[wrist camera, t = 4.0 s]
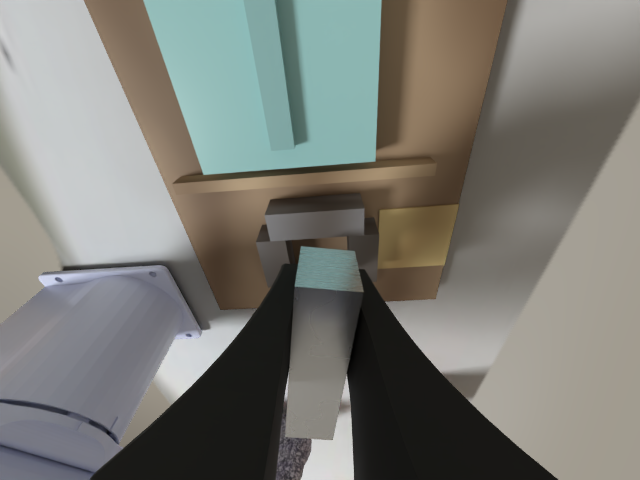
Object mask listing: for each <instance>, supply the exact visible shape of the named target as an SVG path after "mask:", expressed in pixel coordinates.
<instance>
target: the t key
mask: <svg viewBox="0 0 640 480" xmlns="http://www.w3.org/2000/svg"><path fill="white" fill-rule="evenodd" d="M363 294H364V291H363V286H362V282H361V277H360V273H359V268H358V263H357V259H356V254H355V251H349V250H337V249H326V248H315V247H303V246H301V249H300V256H299V262H298V268H297V274H296V281H295V288H294V303H293V319H292V335H291V351H290V367H289V383H288V399H287V415H286V431H285V437H291V438H307V439H322V440H333V436H334V431H335V427H336V422H337V417H338V412H339V408H340V403H341V398H342V393H343V389H344V384H345V379H346V374H347V370H348V365H349V360H350V356H351V351H352V346H353V341H354V337H355V332H356V327H357V322H358V318H359V313H360V308H361V304H362V299H363Z"/></svg>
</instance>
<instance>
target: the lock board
mask: <svg viewBox="0 0 640 480" xmlns="http://www.w3.org/2000/svg"><path fill="white" fill-rule="evenodd" d="M507 1H508V0H382V2H381V28H380V54H379V80H378V106H377V133H376V159H375V162H362V163H350V164H337V165H324V166H311V167H298V168H286V169H273V170H260V171H247V172H235V173H222V174H209V175H203V172H202V169H201V166H200V163H199V160H198V157H197V154H196V151H195V149H194V146H193V143H192V140H191V137H190V134H189V131H188V128H187V125H186V123H185V120H184V117H183V114H182V111H181V108H180V105H179V102H178V99H177V97H176V94H175V91H174V88H173V85H172V82H171V79H170V76H169V73H168V71H167V68H166V65H165V62H164V59H163V56H162V53H161V50H160V47H159V45H158V42H157V39H156V36H155V33H154V30H153V27H152V24H151V21H150V19H149V16H148V13H147V10H146V7H145V4H144V1H143V0H84V2H85V4H86V6H87V8H88V11H89V13H90V15H91V18H92V20H93V22H94V24H95V27H96V29H97V31H98V33H99V36H100V38H101V40H102V42H103V45H104V47H105V49H106V51H107V54H108V56H109V58H110V61H111V63H112V65H113V67H114V70H115V72H116V74H117V76H118V79H119V81H120V83H121V85H122V88H123V90H124V92H125V95H126V97H127V99H128V101H129V104H130V106H131V108H132V110H133V113H134V115H135V117H136V119H137V122H138V124H139V126H140V128H141V131H142V133H143V135H144V138H145V140H146V142H147V144H148V147H149V149H150V151H151V153H152V156H153V158H154V160H155V162H156V165H157V167H158V169H159V172H160V174H161V176H162V178H163V181H164V183H165V185H166V187H167V190H168V192H169V194H170V196H171V199H172V201H173V203H174V205H175V208H176V210H177V212H178V215H179V217H180V219H181V221H182V224H183V226H184V228H185V230H186V233H187V235H188V237H189V239H190V242H191V244H192V246H193V249H194V251H195V253H196V255H197V258H198V260H199V262H200V264H201V267H202V269H203V271H204V273H205V276H206V278H207V280H208V282H209V285H210V287H211V289H212V292H213V294H214V296H215V298H216V301H217V303H218V305H219V307H220V310H228V309H248V308H258V307H259V306H260V304H261V303H262V301H263V299H264V298H265V296H266V295H267V293H268V292H269V290H270V288H271V286H272V285H273V283H274V281H275V279H276V277H277V275H278V273H279V271H280V269H281V266H282V265H283V264H285V263H286V264H298V262H299V256H300V249H301V246H303V247H315V248H326V249H337V250H349V251H355V254H356V259H357V263H358V268H359V269H365V271H366V272H367V273H368V275H369V277H370V279H371V280H372V282H373V284H374V285H375V287H376V289H377V290H378V292H379V293H380V295H381V297H382V298H383V300H384V301H405V300H425V299H436V295H437V291H438V287H439V282H440V278H441V274H442V270H443V266H444V265H445V261H446V257H447V253H448V249H449V245H450V241H451V236H452V232H453V228H454V224H455V220H456V216H457V212H458V208H459V200H460V195H461V191H462V187H463V183H464V179H465V175H466V171H467V166H468V162H469V158H470V154H471V150H472V146H473V142H474V137H475V133H476V129H477V125H478V121H479V117H480V113H481V108H482V104H483V100H484V96H485V92H486V88H487V83H488V79H489V75H490V71H491V67H492V63H493V59H494V54H495V50H496V46H497V42H498V38H499V34H500V30H501V25H502V21H503V17H504V13H505V9H506V5H507Z"/></svg>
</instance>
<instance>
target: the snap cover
mask: <svg viewBox="0 0 640 480" xmlns="http://www.w3.org/2000/svg"><path fill="white" fill-rule="evenodd" d="M143 1H144V4H145V7H146V10H147V13H148V16H149V19H150V21H151V24H152V27H153V30H154V33H155V36H156V39H157V42H158V45H159V47H160V50H161V53H162V56H163V59H164V62H165V65H166V68H167V71H168V73H169V76H170V79H171V82H172V85H173V88H174V91H175V94H176V97H177V99H178V102H179V105H180V108H181V111H182V114H183V117H184V120H185V123H186V125H187V128H188V131H189V134H190V137H191V140H192V143H193V146H194V149H195V151H196V154H197V157H198V160H199V163H200V166H201V169H202V172H203V175H209V174H222V173H235V172H247V171H260V170H273V169H286V168H298V167H311V166H324V165H337V164H350V163H362V162H375V159H376V133H377V106H378V80H379V54H380V28H381V2H382V0H143Z"/></svg>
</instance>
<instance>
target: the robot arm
mask: <svg viewBox="0 0 640 480" xmlns="http://www.w3.org/2000/svg"><path fill="white" fill-rule="evenodd" d="M297 268H298V264H286V263H285V264H283V265H282V266H281V269H280V271H279V273H278V275H277V277H276V279H275V281H274V283H273V285H272V286H271V288H270V290H269V292H268V293H267V295H266V296H265V298H264V299H263V301H262V303H261V304H260V306H259V307H258V309H257V310H256V311H255V313H254V314H253V315H252V317H251V318H250V320H249V321H248V322H247V324H246V325H245V326H244V328H243V329H242V330H241V332H240V333H239V334H238V335H237V337H236V338H235V339H234V340H233V341H232V343H231V344H230V345H229V346H228V347H227V349H226V350H225V351H224V352H223V353H222V354H221V355H220V357H219V358H218V359H217V360H216V361H215V362H214V363H213V364H212V365H211V366H210V367H209V368H208V370H207V371H206V372H205V373H204V374H203V375H202V376H201V377H200V378H199V379H198V380H197V381H196V382H195V383H194V384H193V385H192V386H191V387H190V388H189V389H188V390H187V391H186V392H185V393H184V394H183V395H182V396H181V397H180V398H179V399H177V400H176V401H175V402H174V403H173V404H172V405H171V406H170V407H169V408H168V409H167V410H166V411H165V412H164V413H163V414H162V415H161V416H160V417H159V418H157V419H156V420H155V421H154V422H153V423H152V424H151V425H150V426H149V427H148V428H146V429H145V430H144V431H143V432H142V433H141V434H139V435H138V436H137V437H136V438H135V439H134V440H132V441H131V442H130V443H129V444H128V445H127V446H126V447H124V448H123V447H121V446H119V443H120V441H121V439H122V437H123V435H124V433H125V431H126V430H127V428H128V426H129V424H130V422H131V420H132V418H133V416H134V414H135V412H136V411H137V409H138V407H139V405H140V403H141V401H142V399H143V397H144V395H145V394H146V392H147V390H148V388H149V386H150V384H151V382H152V380H153V378H154V376H155V375H156V373H157V371H158V369H159V367H160V365H161V363H162V361H163V359H164V357H165V356H166V354H167V352H168V350H169V348H170V346H171V344H172V342H173V340H174V339H190V338H199V337H200V336H201V334H202V331H201V329H200V327H199V325H198V324H197V322H196V320H195V318H194V316H193V314H192V312H191V311H190V309H189V307H188V305H187V303H186V301H185V299H184V298H183V296H182V294H181V292H180V290H179V288H178V286H177V285H176V283H175V281H174V279H173V277H172V275H171V273H170V272H169V270H168V269H167V268H166V267H165V266H162V265H155V266H139V267H122V268H105V269H89V270H72V271H57V272H44V273H42V274H41V275H40V276H39V280H40V282H41V283H42V284H43V285H44V286H45V287H44V288H43V289H42V290H41V291H40V292H38V293H37V294H36V295H35V296H34V297H32V298H31V299H30V300H29V301H27V302H26V303H25V304H24V305H23V306H21V307H20V308H19V309H18V310H17V311H15V312H14V313H13V314H12V315H11V316H9V317H8V318H7V319H6V320H5V321H3V322H2V323H1V324H0V480H276V473H277V463H278V453H279V443H280V433H281V423H282V413H283V403H284V396H285V389H286V384H287V378H288V373H289V367H290V351H291V335H292V319H293V303H294V288H295V281H296V274H297ZM154 272H155V273H154ZM359 273H360V277H361V282H362V286H363V291H364V294H363V299H362V304H361V308H360V313H359V318H358V322H357V327H356V332H355V337H354V341H353V346H352V351H351V356H350V360H349V365H348V370H347V378H348V385H349V392H350V402H351V417H352V437H353V461H354V480H558V479H557V478H555V477H554V476H553V475H552V474H551V473H549V472H548V471H547V470H546V469H545V468H543V467H542V466H541V465H540V464H539V463H537V462H536V461H535V460H534V459H532V458H531V457H530V456H529V455H527V454H526V453H525V452H524V451H523V450H522V449H520V448H519V447H518V446H517V445H516V444H515V443H513V442H512V441H511V440H510V439H509V438H508V437H507V436H505V435H504V434H503V433H502V432H501V431H500V430H499V429H498V428H497V427H495V426H494V425H493V424H492V423H491V422H490V421H489V420H488V419H487V418H485V417H484V416H483V415H482V414H481V413H480V412H479V411H478V410H477V409H476V408H475V407H474V406H473V405H472V404H471V403H470V402H469V401H468V400H467V399H466V398H465V397H464V396H463V395H462V394H461V393H460V392H459V391H458V390H457V389H456V388H455V387H454V386H453V385H452V384H451V383H450V382H449V381H448V380H447V379H446V378H445V377H444V376H443V375H442V374H441V373H440V372H439V370H438V369H437V368H436V367H435V366H434V365H433V364H432V363H431V361H430V360H429V359H428V358H427V357H426V356H425V355H424V353H423V352H422V351H421V350H420V349H419V347H418V346H417V345H416V344H415V343H414V341H413V340H412V339H411V337H410V336H409V335H408V334H407V332H406V331H405V330H404V328H403V327H402V326H401V324H400V323H399V322H398V320H397V319H396V317H395V316H394V314H393V313H392V312H391V310H390V309H389V307H388V306H387V304H386V303H385V301H384V300H383V298H382V297H381V295H380V293H379V292H378V290H377V289H376V287H375V285H374V284H373V282H372V280H371V279H370V277H369V275H368V273H367V272H366V271H365V269H359Z"/></svg>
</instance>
